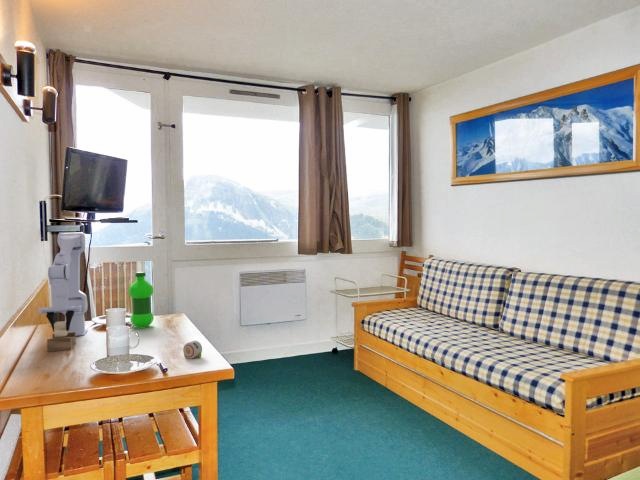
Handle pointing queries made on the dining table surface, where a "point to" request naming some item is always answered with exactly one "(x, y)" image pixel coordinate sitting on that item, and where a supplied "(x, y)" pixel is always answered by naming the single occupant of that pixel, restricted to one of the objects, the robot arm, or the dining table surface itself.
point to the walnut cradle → (61, 342)
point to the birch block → (60, 329)
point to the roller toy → (192, 350)
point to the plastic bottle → (141, 301)
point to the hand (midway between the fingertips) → (61, 330)
